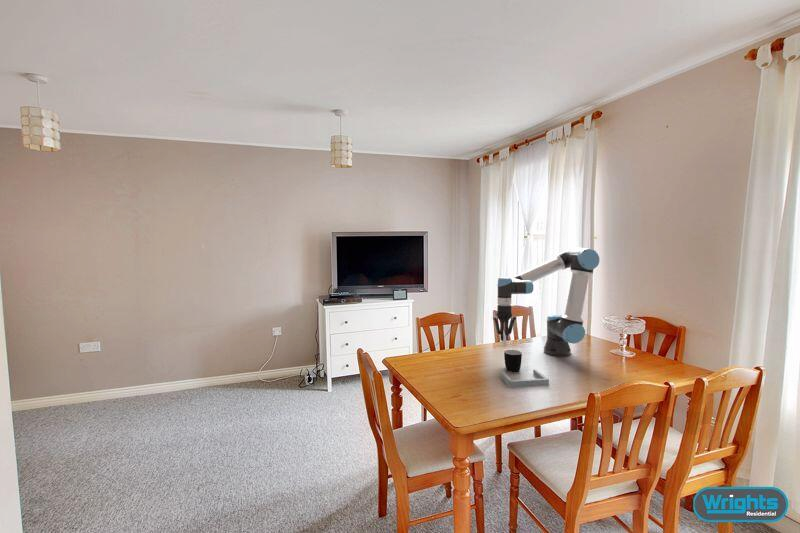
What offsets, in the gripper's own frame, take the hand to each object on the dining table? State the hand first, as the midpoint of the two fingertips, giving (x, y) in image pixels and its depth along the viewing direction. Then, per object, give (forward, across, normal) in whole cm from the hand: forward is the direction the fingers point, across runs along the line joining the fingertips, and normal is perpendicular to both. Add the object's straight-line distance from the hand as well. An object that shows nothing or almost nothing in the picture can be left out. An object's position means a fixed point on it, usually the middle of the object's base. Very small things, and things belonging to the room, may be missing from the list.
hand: (503, 346), depth 213 cm
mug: (+10, +1, -10) cm, 14 cm away
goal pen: (+10, +1, -27) cm, 29 cm away
